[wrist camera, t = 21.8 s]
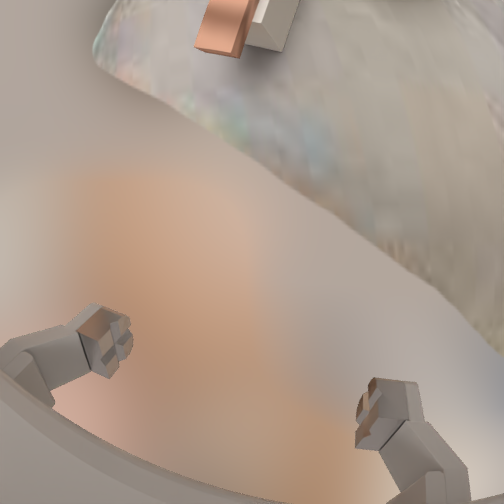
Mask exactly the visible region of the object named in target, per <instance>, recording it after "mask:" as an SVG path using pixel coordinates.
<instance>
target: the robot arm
mask: <svg viewBox="0 0 504 504" xmlns="http://www.w3.org/2000/svg"><path fill="white" fill-rule="evenodd" d="M130 325H131V323H130V318H129V317H128V316H126V315H124V314H121V313H119V312H117V311H114V310H112V309H109V308H107V307H104V306H101V305H99V304H97V303H91V304H89V305H88V306H87V307H86V308H85V309H84V310H82V311H81V312H80V313H79V314H78V315H77V316H76V317H74V319H72V320H71V321H70V322H69V323H68V324H67V325H66V326H63V325H59V326H56V327H53V328H49V329H45V330H42V331H38V332H35V333H31V334H28V335H24V336H20V337H17V338H13V339H10V340H9V341H8V342H7V343H5V344H4V345H3V346H2V347H1V348H0V504H290V503H284V502H278V501H273V500H268V499H263V498H258V497H254V496H250V495H245V494H241V493H237V492H233V491H230V490H226V489H223V488H219V487H216V486H212V485H209V484H206V483H203V482H200V481H197V480H194V479H191V478H188V477H185V476H182V475H180V474H177V473H174V472H172V471H169V470H166V469H164V468H162V467H159V466H157V465H155V464H152V463H150V462H148V461H145V460H143V459H141V458H139V457H136V456H134V455H132V454H130V453H128V452H126V451H124V450H122V449H120V448H118V447H116V446H114V445H112V444H110V443H108V442H106V441H104V440H102V439H101V438H99V437H97V436H95V435H94V434H92V433H90V432H88V431H86V430H85V429H83V428H81V427H80V426H78V425H77V424H75V423H73V422H72V421H70V420H69V419H67V418H65V417H64V416H62V415H60V414H59V413H58V412H56V411H55V410H53V409H52V407H53V406H54V405H55V400H54V398H53V396H52V394H51V392H50V391H51V390H53V389H55V388H57V387H59V386H61V385H64V384H66V383H68V382H70V381H72V380H74V379H76V378H79V377H81V376H83V375H85V374H87V373H89V372H91V371H93V372H95V373H97V374H99V375H101V376H104V377H106V378H108V379H110V378H111V377H112V375H113V374H114V373H115V372H116V370H117V369H118V368H119V361H121V360H124V359H126V358H127V356H128V355H129V354H130V352H131V350H132V347H133V335H132V333H131V332H130V331H129V329H128V328H129V326H130ZM90 370H91V371H90ZM356 421H357V423H358V424H359V425H360V426H359V427H358V429H357V430H356V435H355V448H357V449H366V450H375V451H379V453H380V455H381V457H382V459H383V460H384V463H385V464H386V466H387V468H388V470H389V472H390V474H391V475H392V477H393V479H394V481H395V483H396V484H397V486H398V488H399V490H400V492H401V493H400V494H398V495H397V496H396V497H394V498H393V499H392V500H390V501H389V502H387V503H386V504H504V493H503V494H500V495H495V496H492V497H487V498H484V499H479V500H474V501H471V493H470V485H469V478H468V471H467V467H466V466H465V464H464V463H463V462H462V461H461V460H460V458H459V457H458V456H457V455H456V454H455V452H454V451H453V450H452V449H451V448H450V447H449V445H448V444H447V443H446V442H445V441H444V439H443V438H442V437H441V436H440V435H439V434H438V432H437V431H436V430H435V429H434V428H433V426H432V425H431V424H430V423H429V422H425V421H424V415H423V409H422V403H421V398H420V393H419V389H418V384H417V383H416V382H408V381H399V380H390V379H382V378H375V377H374V378H373V379H372V380H371V381H370V383H369V384H368V392H366V393H364V394H363V395H362V397H361V399H360V401H359V404H358V407H357V412H356Z"/></svg>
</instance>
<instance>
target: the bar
mask: <svg viewBox="0 0 504 504" xmlns="http://www.w3.org/2000/svg"><path fill="white" fill-rule="evenodd" d="M259 1H260V0H210V1H209V4H208V6H207V9H206V12H205V15H204V18H203V20H202V23H201V26H200V29H199V32H198V35H197V38H196V41H195V45H194V47H195V48H197V49H199V50H201V51H203V52H206V53H212V54H218V55H224V56H229V57H234V58H239V59H240V56H241V53H242V50H243V47H244V44H245V41H246V38H247V35H248V32H249V29H250V26H251V23H252V20H253V17H254V14H255V12H256V9H257V6H258V3H259Z"/></svg>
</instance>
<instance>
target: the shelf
mask: <svg viewBox="0 0 504 504" xmlns="http://www.w3.org/2000/svg"><path fill="white" fill-rule="evenodd" d="M299 1H300V0H260V1H259V3H258V6H257V9H256V12H255V14H254V17H253V20H252V23H251V26H250V29H249V32H248V35H247V38H246V41H245V44H246V45H251V46H256V47H261V48H265V49H270V50H274V51H278V52H283V48H284V45H285V42H286V39H287V36H288V33H289V31H290V28H291V25H292V22H293V19H294V16H295V13H296V10H297V7H298V4H299Z"/></svg>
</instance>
